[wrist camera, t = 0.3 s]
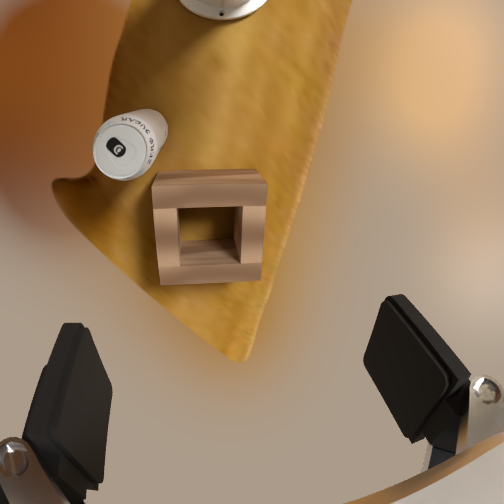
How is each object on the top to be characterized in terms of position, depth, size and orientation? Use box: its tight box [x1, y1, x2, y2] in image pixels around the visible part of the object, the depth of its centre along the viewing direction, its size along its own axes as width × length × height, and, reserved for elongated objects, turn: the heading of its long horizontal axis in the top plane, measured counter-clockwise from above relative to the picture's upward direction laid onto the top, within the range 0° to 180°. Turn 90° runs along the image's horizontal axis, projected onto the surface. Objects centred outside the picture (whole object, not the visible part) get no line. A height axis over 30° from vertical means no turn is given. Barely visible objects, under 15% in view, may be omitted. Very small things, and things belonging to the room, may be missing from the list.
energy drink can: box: [93, 109, 168, 181], centre depth 30 cm, size 6×6×15 cm
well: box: [152, 169, 267, 285], centre depth 40 cm, size 13×13×7 cm
